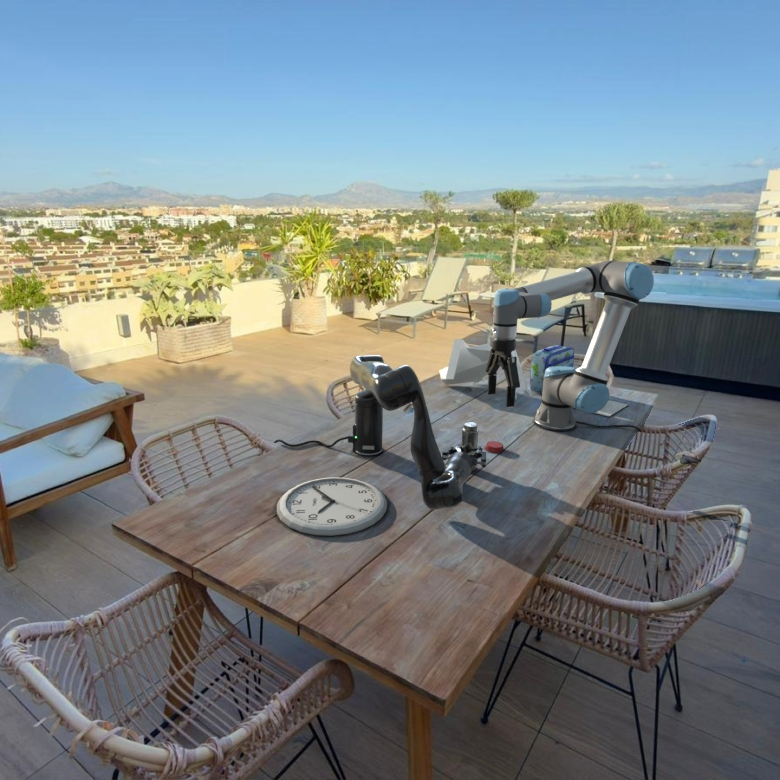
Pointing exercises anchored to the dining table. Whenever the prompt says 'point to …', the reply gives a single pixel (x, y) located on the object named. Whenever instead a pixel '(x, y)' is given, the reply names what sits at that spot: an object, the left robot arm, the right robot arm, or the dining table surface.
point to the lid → (494, 446)
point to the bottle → (469, 438)
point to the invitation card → (611, 408)
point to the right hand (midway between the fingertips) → (500, 400)
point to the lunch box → (548, 363)
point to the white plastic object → (472, 365)
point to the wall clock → (331, 506)
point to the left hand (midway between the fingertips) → (470, 447)
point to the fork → (408, 406)
